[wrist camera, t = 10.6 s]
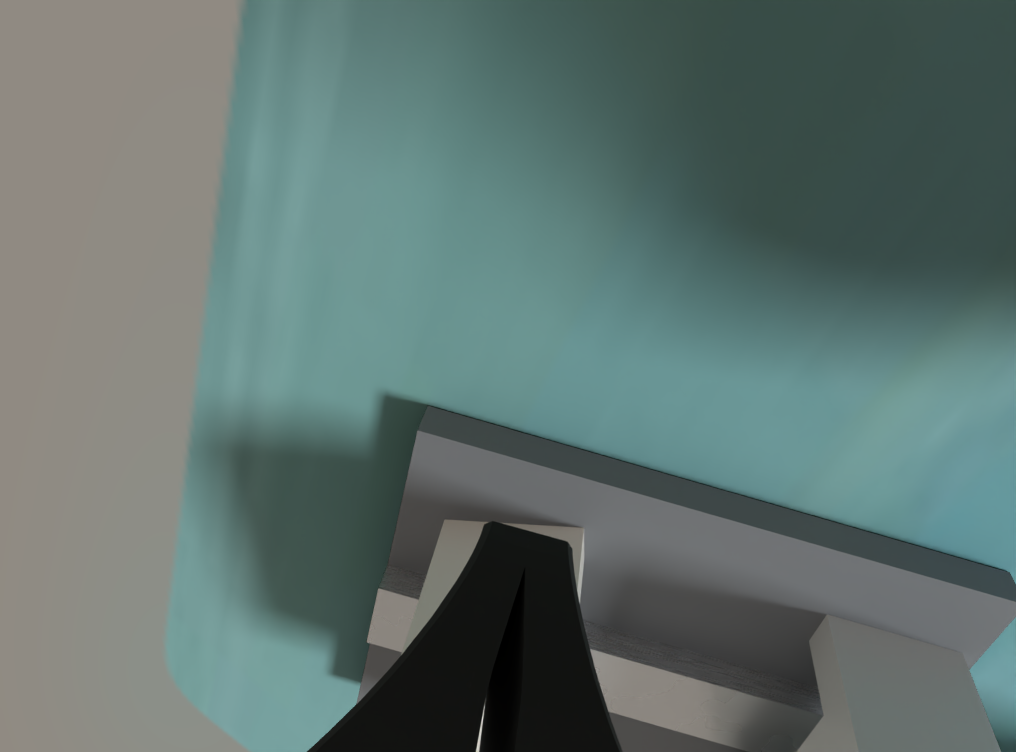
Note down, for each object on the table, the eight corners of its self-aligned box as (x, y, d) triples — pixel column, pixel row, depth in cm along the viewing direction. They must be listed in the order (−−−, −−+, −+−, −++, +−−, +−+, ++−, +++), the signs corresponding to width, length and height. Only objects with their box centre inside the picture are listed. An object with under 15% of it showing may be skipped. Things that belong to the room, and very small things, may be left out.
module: (583, 527, 23) (564, 714, 18) (585, 730, 28) (570, 922, 23) (444, 519, 24) (387, 696, 19) (469, 718, 28) (429, 903, 23)
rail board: (1009, 572, 23) (1136, 823, 17) (810, 812, 30) (849, 1050, 24) (427, 405, 23) (347, 597, 17) (364, 685, 30) (291, 891, 24)
